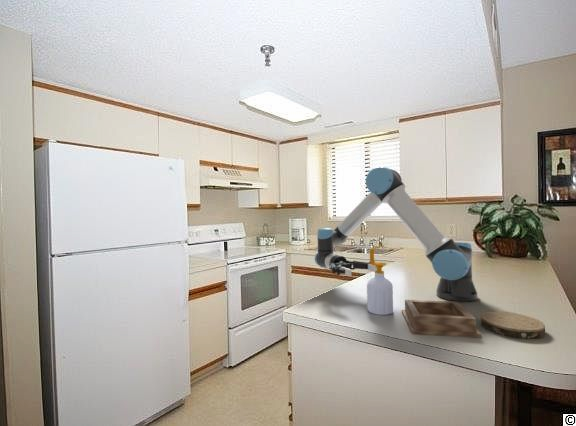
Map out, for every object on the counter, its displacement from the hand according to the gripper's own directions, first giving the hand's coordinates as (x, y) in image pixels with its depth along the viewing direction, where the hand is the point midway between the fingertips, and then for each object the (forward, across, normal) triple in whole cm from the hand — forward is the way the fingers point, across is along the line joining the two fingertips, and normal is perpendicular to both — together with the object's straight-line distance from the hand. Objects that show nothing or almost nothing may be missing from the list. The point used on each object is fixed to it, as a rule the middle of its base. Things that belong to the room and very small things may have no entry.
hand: (365, 271), depth 119 cm
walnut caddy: (+26, -9, -13) cm, 30 cm away
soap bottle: (+8, 0, -14) cm, 16 cm away
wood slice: (+39, -25, -14) cm, 48 cm away
